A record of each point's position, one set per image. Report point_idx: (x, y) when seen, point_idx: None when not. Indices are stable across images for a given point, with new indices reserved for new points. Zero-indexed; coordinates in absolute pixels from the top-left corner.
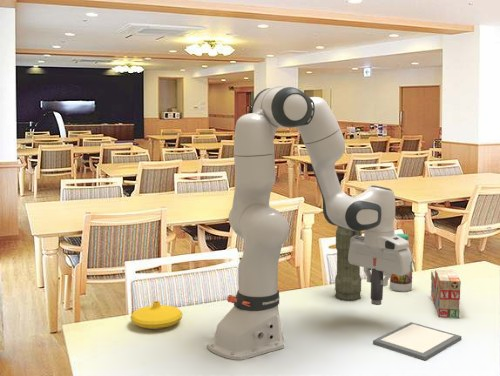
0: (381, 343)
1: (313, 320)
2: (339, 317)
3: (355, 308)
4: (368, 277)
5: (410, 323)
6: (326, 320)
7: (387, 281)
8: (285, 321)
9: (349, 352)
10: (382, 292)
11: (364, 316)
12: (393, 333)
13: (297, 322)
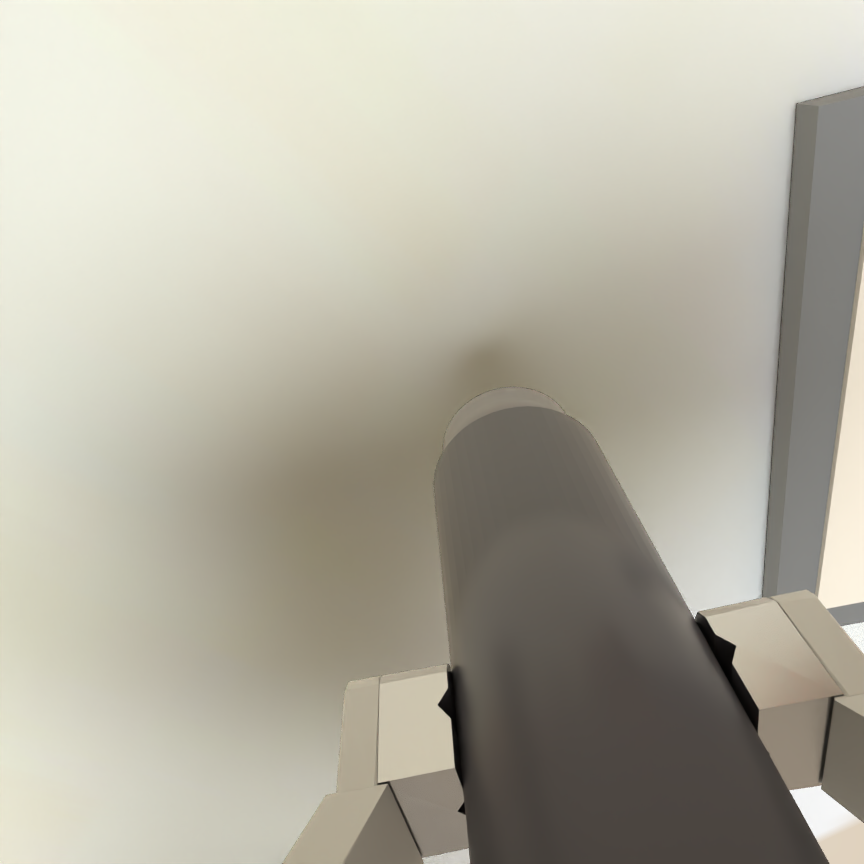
0: (839, 623)
1: (203, 680)
2: (223, 525)
3: (23, 252)
4: (422, 843)
5: (832, 147)
6: (242, 624)
7: (860, 664)
8: (151, 786)
9: None
10: (634, 511)
11: (300, 338)
12: (835, 482)
13: (197, 752)
